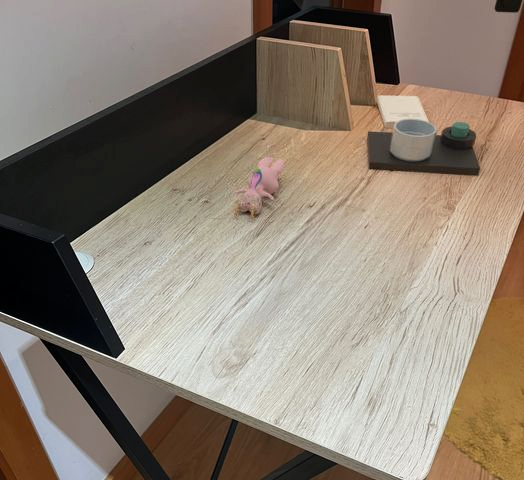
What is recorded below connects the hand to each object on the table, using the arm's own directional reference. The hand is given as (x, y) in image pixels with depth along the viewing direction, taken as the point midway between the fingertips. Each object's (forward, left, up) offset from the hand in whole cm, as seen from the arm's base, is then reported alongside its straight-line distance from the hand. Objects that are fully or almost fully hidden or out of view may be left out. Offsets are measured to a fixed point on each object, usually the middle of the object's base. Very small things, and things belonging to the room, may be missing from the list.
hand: (499, 2), depth 80 cm
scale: (+6, -2, -24) cm, 25 cm away
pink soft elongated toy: (+32, +15, -24) cm, 43 cm away
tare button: (0, -6, -22) cm, 22 cm away
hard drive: (+8, -19, -24) cm, 32 cm away
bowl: (+8, 0, -23) cm, 24 cm away
